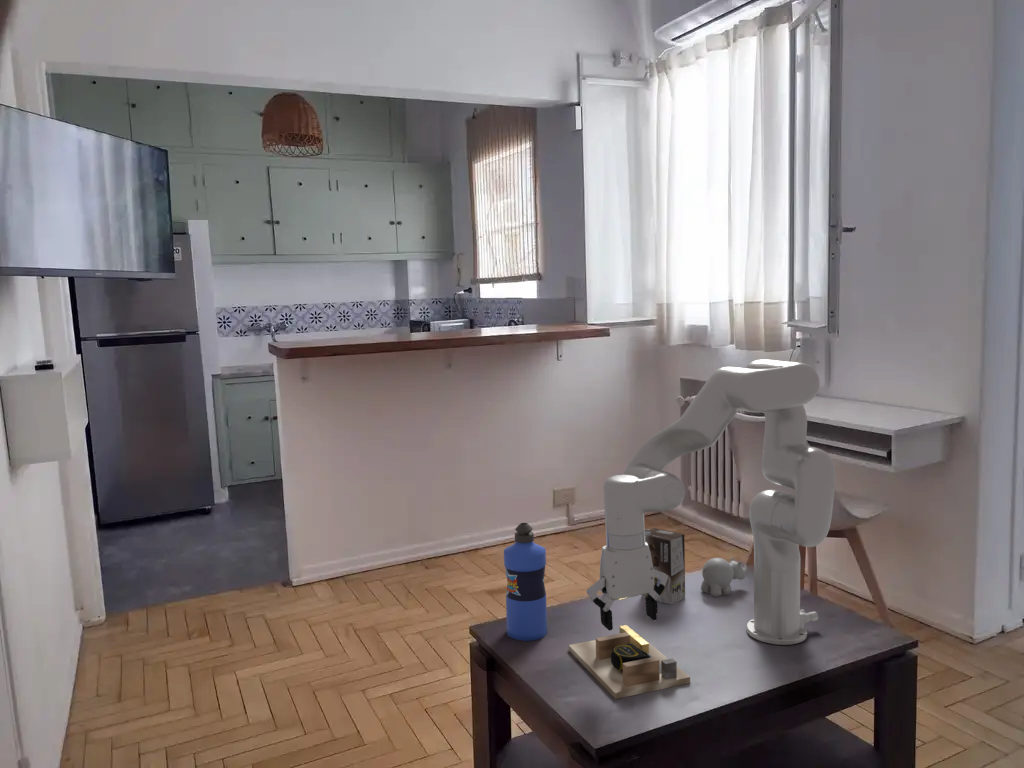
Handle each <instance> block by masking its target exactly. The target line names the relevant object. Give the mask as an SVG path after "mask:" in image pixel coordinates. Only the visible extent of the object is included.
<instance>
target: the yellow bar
mask: <svg viewBox="0 0 1024 768" xmlns="http://www.w3.org/2000/svg"><path fill="white" fill-rule="evenodd" d="M625 632H627V633H628V634H629V635H630V643H631V644H633V645H634V646H636V647H637V648H639V649H640V650H642V651H644V652H645V653H649V642H648V641H647V640H646V639H645V638H644V639H645V640H646V641H647V642H648V643H647V642H646V641H645V640H644V639H643V637H642V636H641V635H640V634H639V633H638V634H639V635H640V636H641V637H642V638H641V637H640V636H639V635H638V634H637V632H636V631H634V630H633V629H632V628H630V626H628V625H627V624H624V625H619V634H620V633H625ZM635 632H636V633H635Z"/></svg>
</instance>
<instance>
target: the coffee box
mask: <svg viewBox="0 0 1024 768" xmlns="http://www.w3.org/2000/svg"><path fill="white" fill-rule="evenodd" d="M649 530H650V532H651V535H650V536H647V537H646V543H647V544H648V546H649V550H650V553H651V558H652V563H653V569H654V570H657V571H660V572H663V573H665V574H666V575H668V579H667V582H666V585H665V589H664V590H663V592H662V593H661V594H660V599H659V600H657V602H662V603H665V604H668V605H674V604H676V603H678V602H680V601H682V600H684V599H685V598H686V562H685V561H686V560H685V559H686V558H685V555H686V554H685V550H686V549H685V533H680V532H675V531H670V530H667V529H666V530H665V529H663V528H658V527H657V528H656V527H654V528H651V529H649ZM657 582H658V578H656V577H654V586H655V584H656V583H657ZM646 596H648V594H643V595H641V597H644V598H646Z"/></svg>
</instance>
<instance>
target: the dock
mask: <svg viewBox="0 0 1024 768" xmlns="http://www.w3.org/2000/svg"><path fill="white" fill-rule="evenodd" d="M634 632H635V633H637V632H636V631H634ZM637 634H638V635H639V636H640V637H641V638H643V637H642V636H641V635H640V634H639V633H637ZM643 639H644V640H645V641H646V642H647V643H649V641H648V640H646V639H645V638H643ZM629 643H630V635H629V634H628V633H627V632H625V633H620V632H619V633H616V634H611V635H605V636H601V637H600V636H599V637H595V639H594V640H589V641H583V642H582V641H581V642H578V643H573V644H569V645H568V651H569V652H570V654H572V655H573V657H575V658H576V660H577V661H578V662H579V663H580V664H581V665H582V666H583V667H584V668H585V670H587V671H588V672H589V673H590V674H591V675H592V676H593V677H594V678H595V679H596V681H598V683H599V684H601V686H602V687H603V688H604V689H605V690H606V691H607V692H608V693H609V694H610V695H611V696H612V697H613V698H614V700H618V699H622V698H623V699H624V698H627V697H630V696H637V695H640V694H646V693H650V692H654V691H659V690H664V689H668V688H673V687H674V688H675V687H678V686H682V685H686V684H687V685H688V684H690V683H691V676H689V674H687V673H686V672H684V670H682V669H681V668H680V667H679V666H678V665H677V661H676V659H674V658H668V657H666V656H665V655H664V654H663V653H662V652H661V651H659V650H658V649H657V648H656V647H655V646H654V645H652V644H651V643H649V653H647V654H648V655H649V656H650V657H651V658H646V659H641V660H636V661H631V662H626V663H623V672H622V671H620V670H617V669H616V668H615V667H614V666H613V665H612V663H611V653H612V650H613V649H614V648H615V647H617V646H619V645H626V644H629Z"/></svg>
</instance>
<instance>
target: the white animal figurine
mask: <svg viewBox="0 0 1024 768" xmlns="http://www.w3.org/2000/svg"><path fill="white" fill-rule="evenodd" d="M743 565H744V566H743ZM743 565H742V561H740V560H739V562H738V561H736V560H735V558H734V557H731V559H730V562H729V561H727V560H726V559H725V558H721V557H712V558H710V559H708V560H707V561H705V563H704V564H703V566H702V571H701V572H702V578H703V581H702V583H701V586H700V590H701V592H704V593H706V594H708V593H710V595H711V596H712V597H720V596H721V595H723V596H729V595H731V593H732V587H731V583H732V582H733V580H739V581H741V580H744V579H745V578H746V576H747V565H746V564H743Z"/></svg>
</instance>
